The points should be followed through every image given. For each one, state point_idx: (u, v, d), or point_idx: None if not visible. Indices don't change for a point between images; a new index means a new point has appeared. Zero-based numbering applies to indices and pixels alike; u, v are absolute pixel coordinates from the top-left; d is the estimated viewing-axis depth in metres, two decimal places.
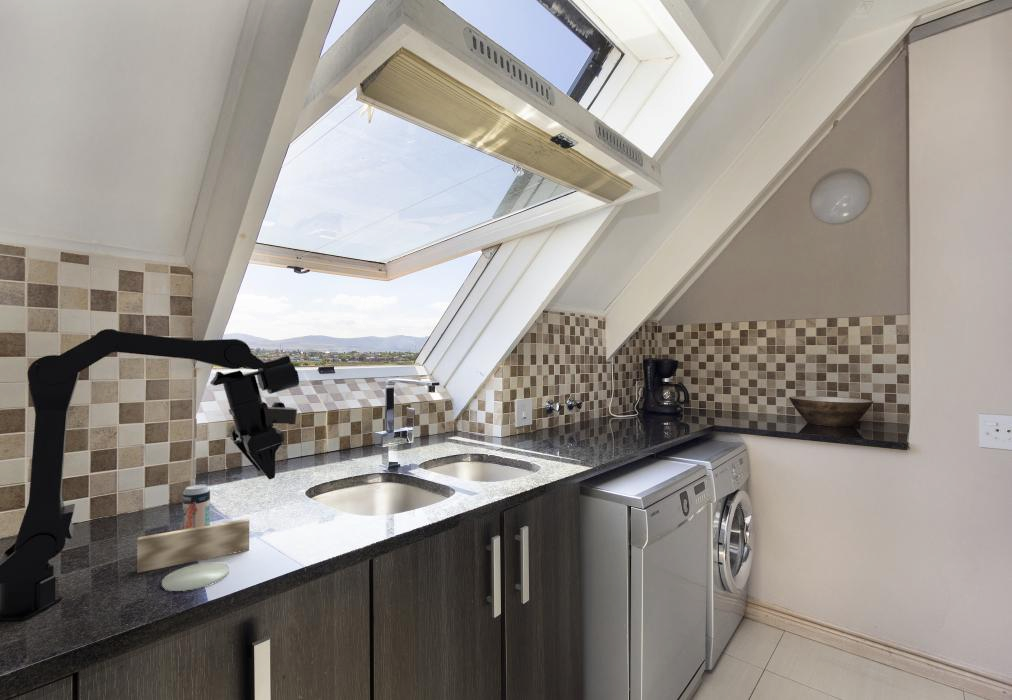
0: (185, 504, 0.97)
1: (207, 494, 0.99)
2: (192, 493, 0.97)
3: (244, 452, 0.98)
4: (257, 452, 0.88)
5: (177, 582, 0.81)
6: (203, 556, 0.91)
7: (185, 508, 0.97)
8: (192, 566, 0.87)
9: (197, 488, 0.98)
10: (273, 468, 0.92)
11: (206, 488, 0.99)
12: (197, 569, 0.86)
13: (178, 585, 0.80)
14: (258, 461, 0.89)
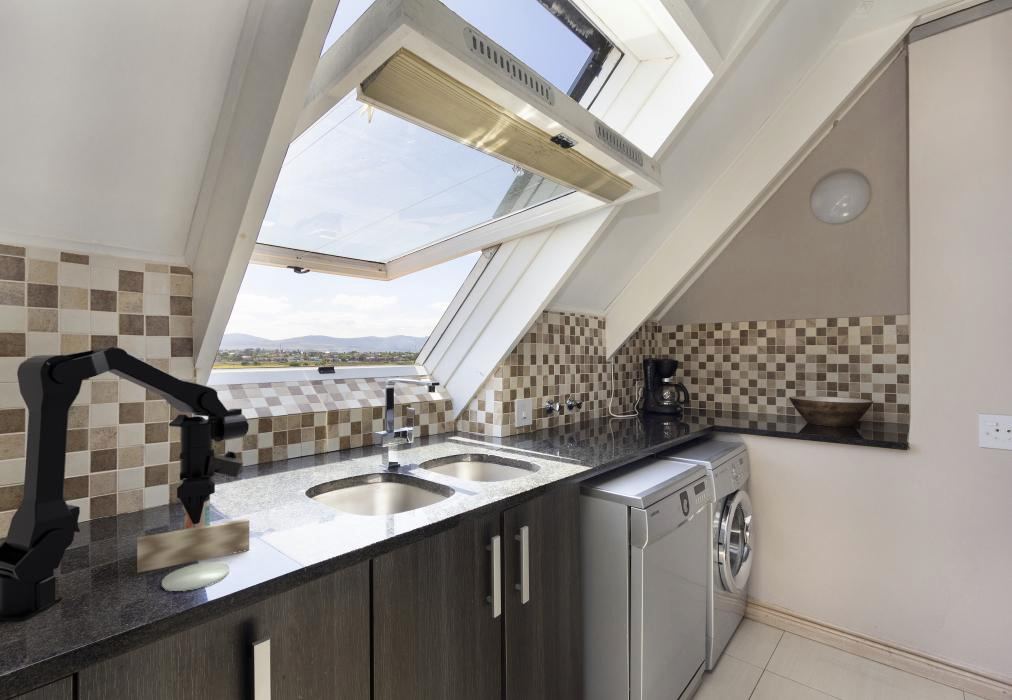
0: None
1: None
2: None
3: None
4: None
5: (177, 582, 0.81)
6: (203, 556, 0.91)
7: None
8: (192, 566, 0.87)
9: None
10: (199, 514, 0.97)
11: None
12: (197, 569, 0.86)
13: (178, 585, 0.80)
14: (186, 504, 0.95)
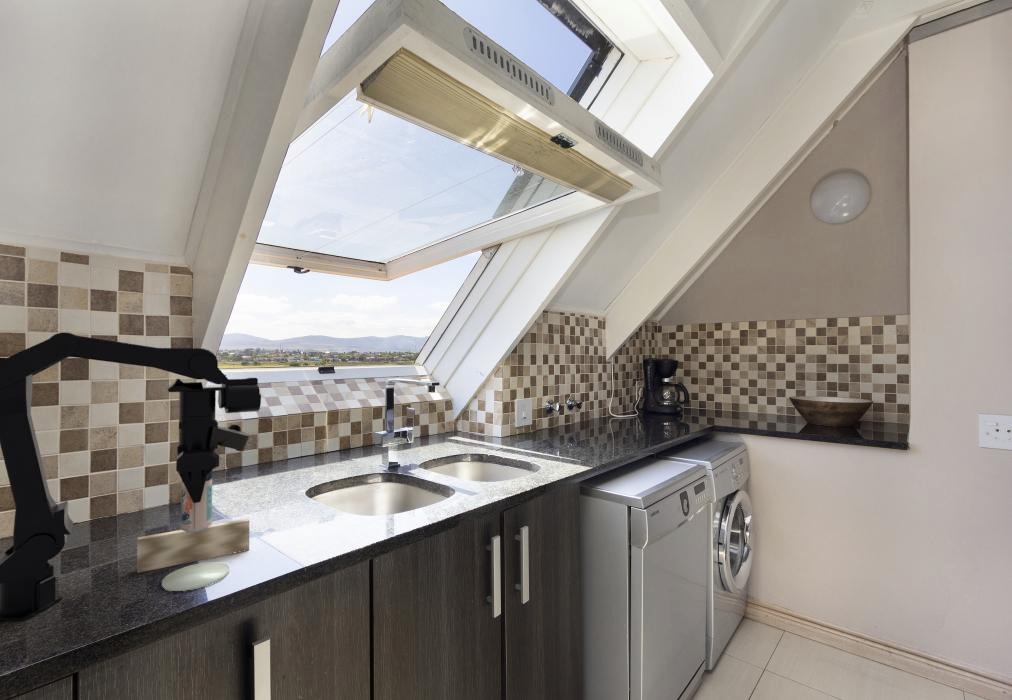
0: None
1: None
2: None
3: None
4: None
5: (177, 582, 0.81)
6: (203, 556, 0.91)
7: (184, 488, 0.86)
8: (192, 566, 0.87)
9: None
10: (201, 491, 0.85)
11: None
12: (197, 569, 0.86)
13: (178, 585, 0.80)
14: (185, 480, 0.83)
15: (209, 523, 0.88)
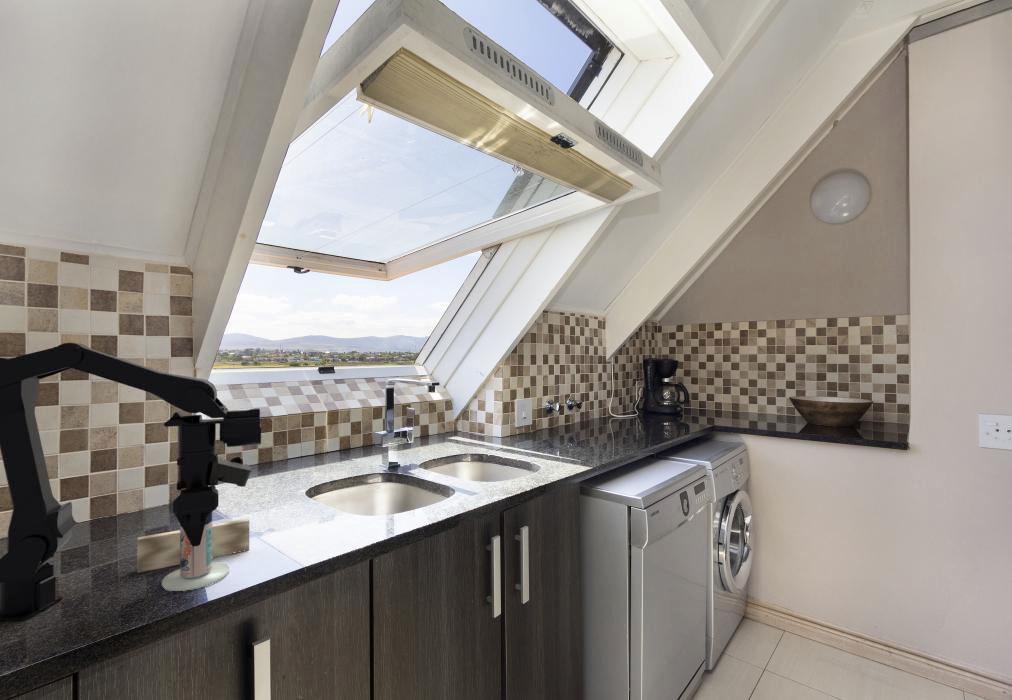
0: (182, 528, 0.82)
1: (208, 515, 0.84)
2: None
3: None
4: (183, 513, 0.76)
5: (177, 582, 0.81)
6: None
7: (183, 532, 0.82)
8: None
9: None
10: (200, 534, 0.80)
11: None
12: None
13: (178, 585, 0.80)
14: (184, 523, 0.78)
15: (209, 568, 0.84)
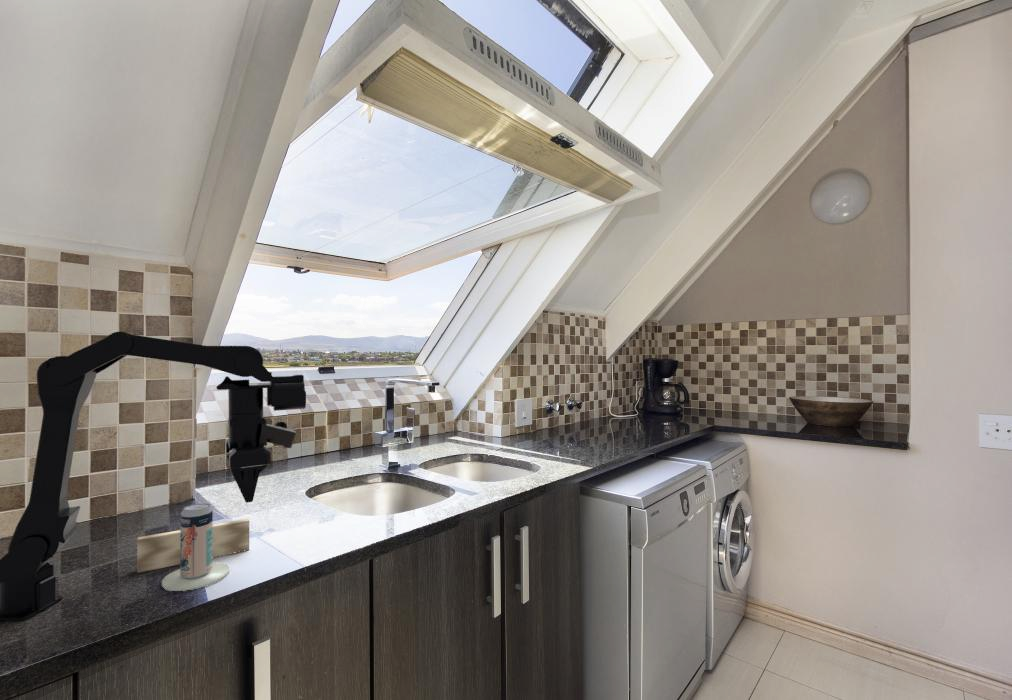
0: (183, 528, 0.82)
1: (209, 515, 0.84)
2: (191, 515, 0.82)
3: None
4: (239, 469, 0.81)
5: (177, 582, 0.81)
6: None
7: (183, 532, 0.82)
8: None
9: (197, 508, 0.83)
10: (253, 491, 0.84)
11: (208, 508, 0.84)
12: None
13: (178, 585, 0.80)
14: (238, 479, 0.82)
15: (209, 568, 0.84)
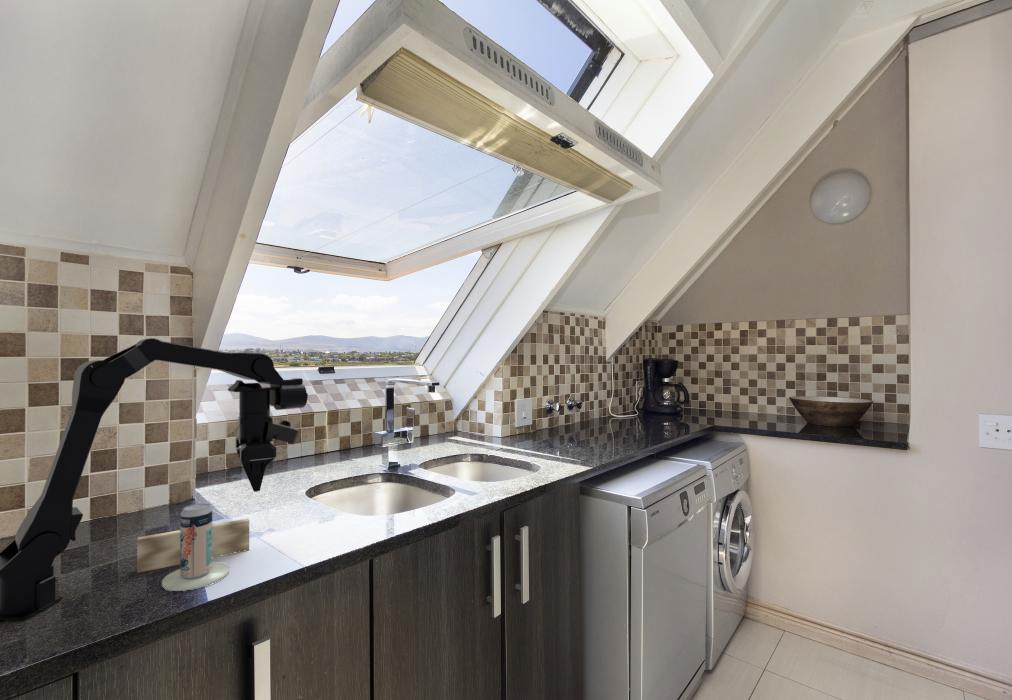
0: (183, 528, 0.82)
1: (208, 515, 0.84)
2: (191, 515, 0.82)
3: None
4: (248, 462, 0.92)
5: (177, 582, 0.81)
6: None
7: (183, 532, 0.82)
8: None
9: (197, 508, 0.83)
10: (260, 481, 0.95)
11: (207, 508, 0.84)
12: None
13: (178, 585, 0.80)
14: (248, 471, 0.93)
15: (209, 568, 0.84)
